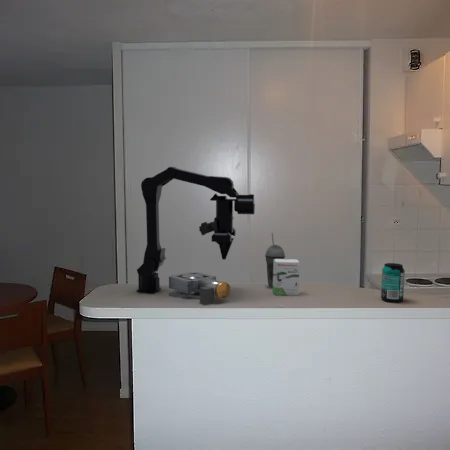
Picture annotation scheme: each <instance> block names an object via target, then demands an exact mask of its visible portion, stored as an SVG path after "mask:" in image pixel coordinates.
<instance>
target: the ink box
mask: <svg viewBox="0 0 450 450" xmlns="http://www.w3.org/2000/svg"><path fill="white" fill-rule="evenodd" d="M300 265H301V263H300V261H299V260H298V259H296V258H294V259H293V258H289V259H288V258H285V259H274V262H273V288H272V293H273V295H274V296H299V293H300V291H299V289H300Z"/></svg>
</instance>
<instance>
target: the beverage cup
mask: <svg viewBox="0 0 450 450" xmlns="http://www.w3.org/2000/svg"><path fill="white" fill-rule="evenodd" d="M271 240H272V245H270V246H269V247H268V248H267V249H266V251H265V255H264V257H265V262H266V276H267V286H268V288H269V289H273V262H274V259H286V256H285V251H284V249H283V247H282V246H281V245H278V244H275V239H274V233H273V232H271Z"/></svg>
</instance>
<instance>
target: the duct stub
mask: <svg viewBox="0 0 450 450" xmlns="http://www.w3.org/2000/svg"><path fill="white" fill-rule="evenodd" d="M182 278H184V279H188V280H194V279H200V278H203V275H200V274H186V275H182ZM168 295H169V297H177V298H185V299H186V298H188V299H197V300H200V292H197V293H184V292H181V291H178V290H174V289H173V291H170V292H168Z"/></svg>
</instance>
